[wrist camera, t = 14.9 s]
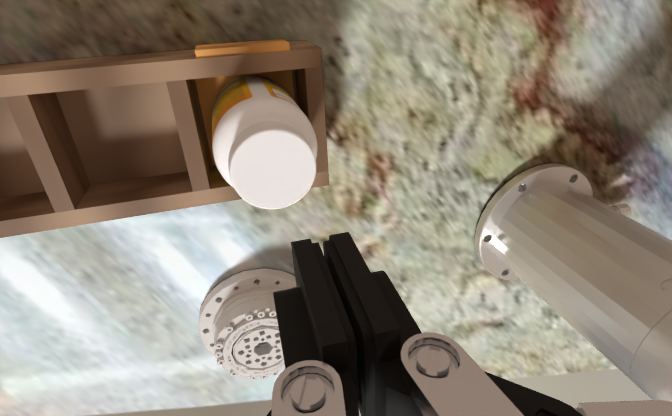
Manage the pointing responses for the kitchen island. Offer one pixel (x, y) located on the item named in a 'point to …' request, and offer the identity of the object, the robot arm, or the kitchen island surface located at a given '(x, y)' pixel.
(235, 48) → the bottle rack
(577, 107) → the kitchen island surface
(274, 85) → the supplement bottle
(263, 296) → the mechanical component
